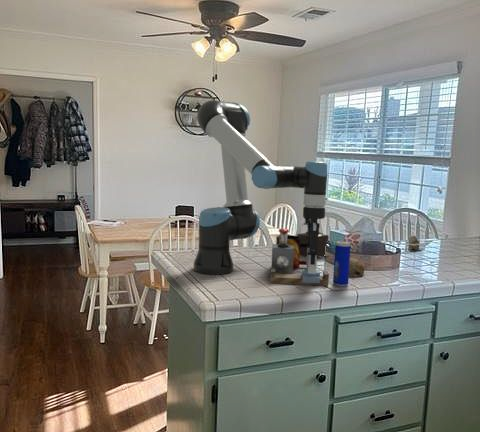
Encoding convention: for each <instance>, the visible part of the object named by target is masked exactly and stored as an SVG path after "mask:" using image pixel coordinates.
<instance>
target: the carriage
mask: <svg viewBox="0 0 480 432" xmlns="http://www.w3.org/2000/svg"><path fill="white" fill-rule="evenodd" d="M309 251H310V248H308V249H307V252H309ZM312 251H315V250H312ZM308 260H309V255H307V257H306V261H307V266H306V268H302V269H301V275H302V282H305V283H320V276H321V272H320V270H319V269H316V274H309V273H308Z"/></svg>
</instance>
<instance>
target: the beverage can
mask: <svg viewBox="0 0 480 432" xmlns="http://www.w3.org/2000/svg"><path fill="white" fill-rule="evenodd" d="M334 246H335V247H334V263H333V277H332V278H333V279H332V283H333V285H335V286H338V287H346V286H348V285H349V279H350V278H349V277H350V276H349V262H350V258H351V247H352V246H351V242H350V241H345V240H338V241H336V242H335V244H334Z"/></svg>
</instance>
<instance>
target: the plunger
mask: <svg viewBox="0 0 480 432" xmlns="http://www.w3.org/2000/svg"><path fill="white" fill-rule="evenodd" d="M278 232H279V235H280V244H279V247H285V248H287V235H288V233H289V232H290V231H289V228H279V229H278Z"/></svg>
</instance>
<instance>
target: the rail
mask: <svg viewBox="0 0 480 432" xmlns="http://www.w3.org/2000/svg"><path fill="white" fill-rule="evenodd" d="M329 279H330V273H329V271H328V270H322V275H320V283H305V282H302V274H298V273H297V274H294V273H293V274H279V273H275V268H271V267H270V280H269V281H270V283H271V284H288V285H289V284H290V285H292V284H293V285H307V286H325V287H328V286H329V281H330V280H329Z"/></svg>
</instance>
